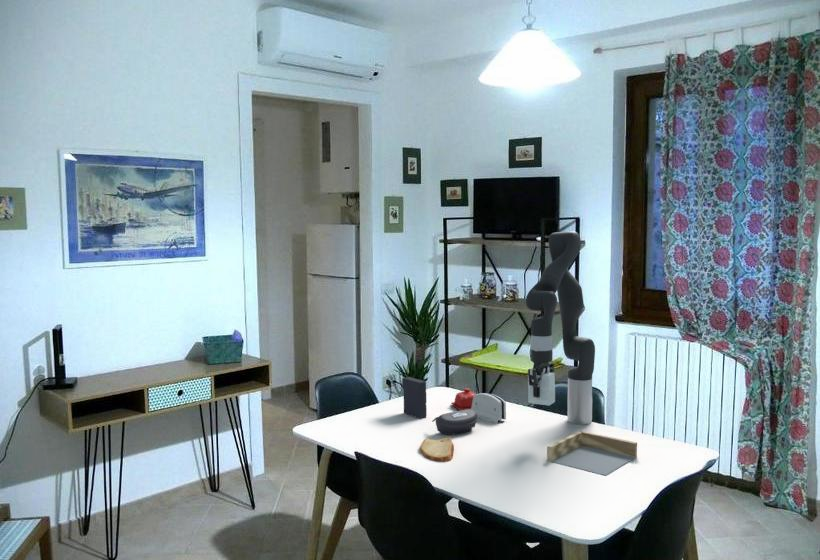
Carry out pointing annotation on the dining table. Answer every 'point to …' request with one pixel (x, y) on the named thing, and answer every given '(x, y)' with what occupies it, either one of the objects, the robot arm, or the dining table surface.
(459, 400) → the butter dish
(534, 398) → the small box
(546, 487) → the dining table surface
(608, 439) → the corner walls
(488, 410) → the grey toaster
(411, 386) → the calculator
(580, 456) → the mat
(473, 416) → the glasses case
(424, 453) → the slice of bread
